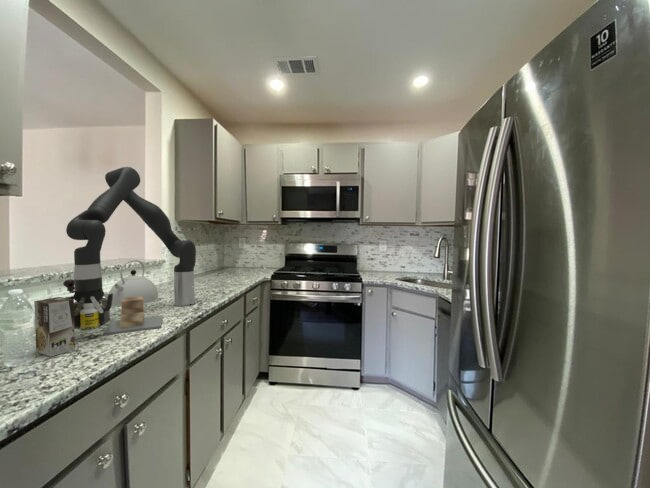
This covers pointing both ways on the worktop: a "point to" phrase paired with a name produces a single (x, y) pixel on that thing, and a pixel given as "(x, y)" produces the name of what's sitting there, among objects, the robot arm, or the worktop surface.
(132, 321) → the tower base
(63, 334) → the coffee box
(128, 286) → the kettle
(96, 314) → the supplement bottle
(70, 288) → the hand-crank coffee grinder
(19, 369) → the worktop surface
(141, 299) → the tower top
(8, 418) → the worktop surface
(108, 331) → the slate board
